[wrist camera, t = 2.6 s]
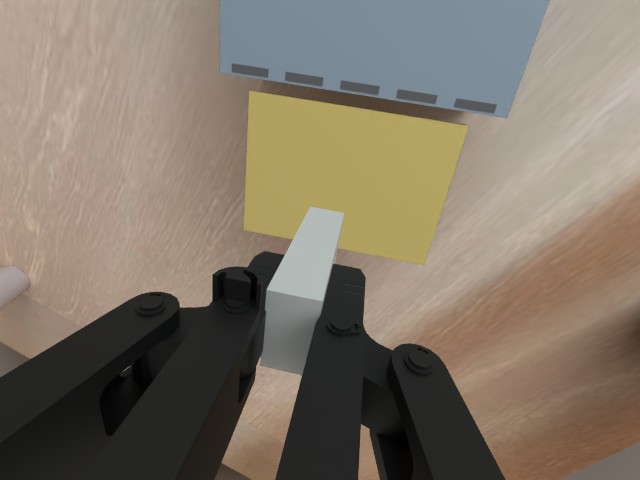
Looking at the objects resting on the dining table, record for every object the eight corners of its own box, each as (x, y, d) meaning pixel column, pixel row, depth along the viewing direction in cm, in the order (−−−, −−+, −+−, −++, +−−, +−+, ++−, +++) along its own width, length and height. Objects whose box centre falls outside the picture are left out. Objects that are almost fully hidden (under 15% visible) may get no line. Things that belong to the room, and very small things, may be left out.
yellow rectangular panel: (254, 90, 23) (249, 91, 22) (464, 124, 22) (468, 126, 21) (248, 225, 27) (243, 229, 26) (422, 258, 26) (424, 265, 25)
